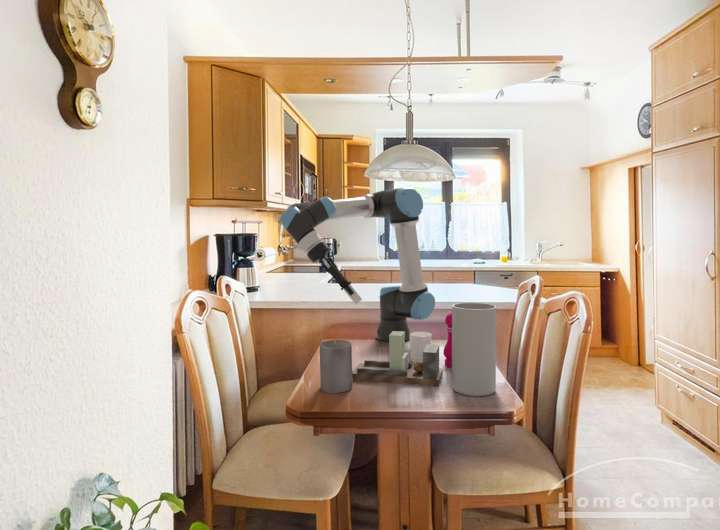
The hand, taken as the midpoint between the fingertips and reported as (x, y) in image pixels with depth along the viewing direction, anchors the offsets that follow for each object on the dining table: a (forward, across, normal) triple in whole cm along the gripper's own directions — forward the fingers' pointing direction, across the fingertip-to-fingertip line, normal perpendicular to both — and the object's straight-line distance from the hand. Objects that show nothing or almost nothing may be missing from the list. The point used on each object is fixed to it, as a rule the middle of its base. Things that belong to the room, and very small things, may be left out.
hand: (359, 301), depth 152 cm
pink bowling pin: (+38, -12, +11) cm, 41 cm away
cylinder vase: (+42, +13, +11) cm, 45 cm away
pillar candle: (+16, +13, -21) cm, 29 cm away
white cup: (+31, -16, +2) cm, 35 cm away
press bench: (+27, +2, -6) cm, 27 cm away
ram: (+25, +2, -4) cm, 26 cm away
